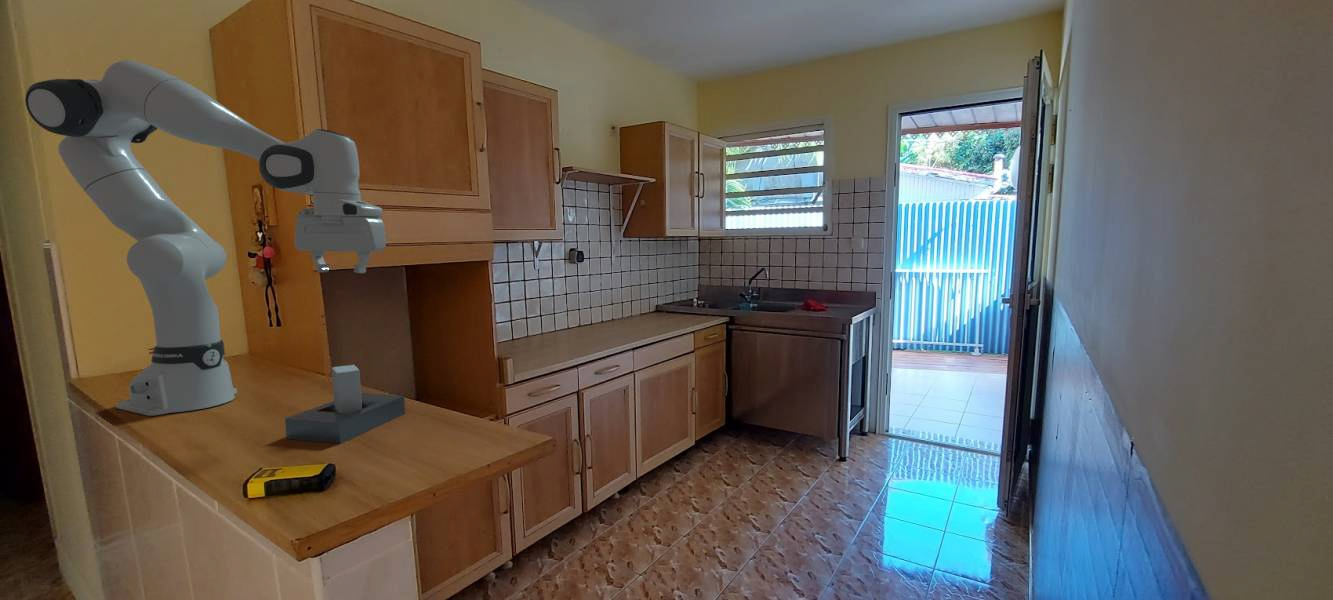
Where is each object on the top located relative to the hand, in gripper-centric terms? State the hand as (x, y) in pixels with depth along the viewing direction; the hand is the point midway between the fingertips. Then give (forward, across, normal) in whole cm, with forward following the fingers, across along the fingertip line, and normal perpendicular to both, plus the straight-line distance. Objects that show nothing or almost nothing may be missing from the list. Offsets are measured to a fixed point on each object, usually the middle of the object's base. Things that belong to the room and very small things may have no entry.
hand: (341, 272), depth 118 cm
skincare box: (+31, +8, -9) cm, 33 cm away
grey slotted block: (+31, +8, -9) cm, 33 cm away
